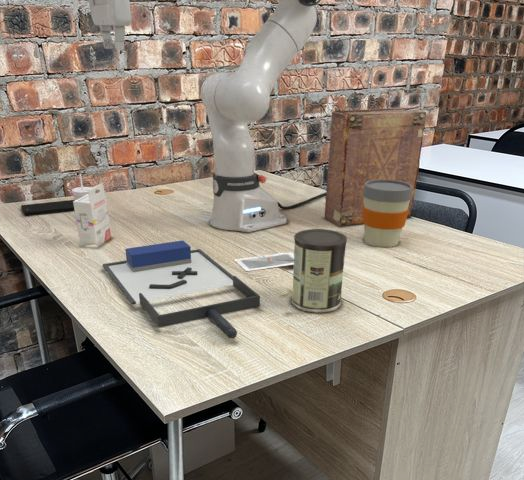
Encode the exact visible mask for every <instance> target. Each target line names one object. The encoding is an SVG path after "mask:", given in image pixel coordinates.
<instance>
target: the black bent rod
mask: <svg viewBox="0 0 524 480" xmlns="http://www.w3.org/2000/svg"><path fill="white" fill-rule="evenodd" d="M186 283H187V281H186V280H181V281H179V282H176V283H173V284H170V285H158V284H150V285H149V289H173V288H175V287H178V286H181V285H183V284H186Z"/></svg>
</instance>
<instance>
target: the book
mask: <svg viewBox="0 0 524 480" xmlns="http://www.w3.org/2000/svg"><path fill="white" fill-rule="evenodd" d="M427 114H428V113H427V112H426V111H410V110H408V108H407V107H393V108H389V107H388V108H369V109H344V110H343V109H342V110H332V111H331V122H330V133H329V149H328V161H327V175H326V176H327V177H326V189H325V193H326V196H325V203H324V216H323V217H324V219H325V220H328V221H329V222H332V223H333V224H335V225H336V226H339V227H347V226H348V227H349V226H355V225H356V226H357V225H364V223H363V211H362V206H363V204H364V196H363V190H364V186H365V183H366V182H368V181H371V180H395V181H401V182H405V183H408V184H410V185H412V199H411V200H410V202H409V206H408V207H409V212H408V215H407V219H411V217H412V216H413V215H412V214H413V207H414V200H415V194H416V189H417V181H418V175H419V168H420V167H419V166H420V162H421V161H420V160H421V153H422V147H423V142H424V141H423V140H424V133H425V126H426V120H427Z"/></svg>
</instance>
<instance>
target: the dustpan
mask: <svg viewBox="0 0 524 480" xmlns="http://www.w3.org/2000/svg"><path fill="white" fill-rule="evenodd" d="M232 287H234V289H236V290H237V291H238V292H239V293H241V294H242V295H243V296H244V297H243V298H237V299H231V300H228V301H223V302H217V303H213V304H207V305H203V306H198V307H193V308H188V309H183V310H178V311H173V312H167V313H164V314H159V313H158V311H157V310H156V309H155V308H154V306H153V305H152V304H151V303H150V301H147V299H146V298H145V297H144V296H143V294H142V293H139V299H140V303H139V304H140V306H141V307H142V309H143V310H144V311H145V312H146V314H147V315H148V316H149V318H150V319H151V320H152V321H153V322H154V324H155V325H156V326H157V328H164V327H168V326H173V325H178V324H182V323H188V322H191V321H197V320H201V319H206V318H208V319H209V320H210V321H211V322H212V323H213V325H215V326H216V327H217V328H218V329H219V330H220V331H221V332H222V334H224V335H225V336H226V337H227V338H228V339H232V340H233V339H235V338H236V337H237V336H238V331H237V329H236V328H235V327H234V326H233V325H232V324H231V323H230V322H229V321H228V320H227V319H226V318H225V317H224V316H223V315H224V314H225V315H226V314H230V313H235V312H239V311H244V310H249V309H253V308H254V309H255V308H258V307H260V306H261V295H259V294H258V293H257V292H256V291H255V290H253V289H252V288H251V287H249V285H247V283H245V282H243V281H242V280H241V279H240V278H239V277H237V276H236V275H233V285H232Z"/></svg>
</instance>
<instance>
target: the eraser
mask: <svg viewBox="0 0 524 480" xmlns="http://www.w3.org/2000/svg"><path fill="white" fill-rule="evenodd" d="M191 250H192V249H191V245H189V244H188V243H187V242H186V241H185V240H175V241H170V242H169V241H168V242H161V243H156V244H149V245H141V246H135V247H134V246H133V247H127V248H125V259H126V260H127V266H128V267H129V268H130V269H131V270H132V272H138V271H144V270H150V269H156V268H162V267H168V266H175V265H181V264H187V263H191ZM126 260H125V261H126Z"/></svg>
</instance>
